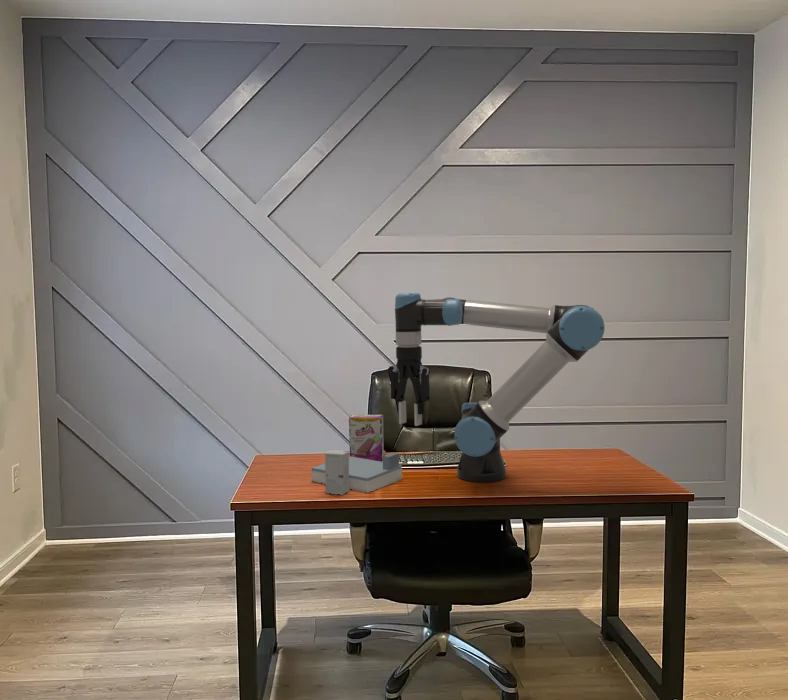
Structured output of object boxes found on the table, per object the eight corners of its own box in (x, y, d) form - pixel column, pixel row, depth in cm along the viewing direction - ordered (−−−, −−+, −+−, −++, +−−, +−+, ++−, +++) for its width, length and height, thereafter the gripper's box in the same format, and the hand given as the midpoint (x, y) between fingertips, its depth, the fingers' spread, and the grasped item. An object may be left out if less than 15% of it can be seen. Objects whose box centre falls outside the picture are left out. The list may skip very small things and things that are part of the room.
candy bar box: (349, 465, 233) (348, 417, 231) (352, 461, 238) (350, 414, 236) (382, 465, 232) (381, 417, 230) (384, 461, 237) (383, 414, 235)
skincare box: (324, 493, 202) (323, 452, 201) (331, 489, 206) (330, 449, 205) (344, 495, 200) (342, 454, 199) (350, 491, 204) (349, 450, 203)
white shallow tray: (402, 479, 215) (401, 467, 215) (367, 493, 201) (367, 481, 201) (347, 469, 228) (347, 458, 228) (312, 481, 214) (311, 470, 214)
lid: (401, 467, 215) (401, 452, 214) (367, 481, 201) (367, 464, 201) (347, 458, 228) (346, 443, 227) (311, 470, 214) (311, 455, 214)
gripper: (441, 345, 202) (442, 424, 204) (391, 343, 212) (393, 418, 214) (427, 348, 196) (428, 429, 198) (376, 345, 206) (378, 423, 208)
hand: (410, 423), depth 206 cm, fingers open, 5 cm apart
